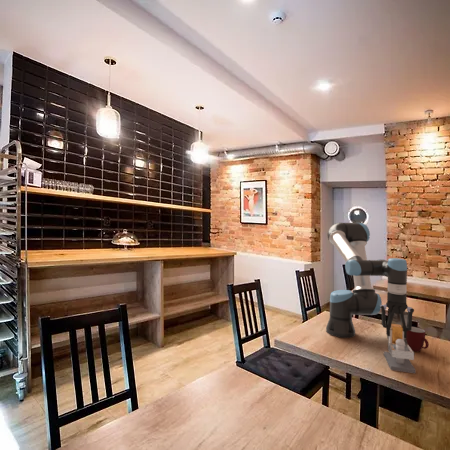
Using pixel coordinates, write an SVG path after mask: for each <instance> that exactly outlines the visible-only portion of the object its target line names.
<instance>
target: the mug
mask: <svg viewBox="0 0 450 450" xmlns="http://www.w3.org/2000/svg"><path fill="white" fill-rule="evenodd" d="M406 339H407V344H406V345H409V347H410V348H411V349H412V351H413V352H418V353H419V352H421V350H422V349H424V350H425V349H428V348H429V346H430V344H429V341H428V339H426V330H424V329H423V328H419V327H417V326H412V329H411V330H408V331H407V335H406ZM424 343H425V344H424ZM424 345H425V346H424Z"/></svg>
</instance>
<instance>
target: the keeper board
mask: <svg viewBox="0 0 450 450" xmlns="http://www.w3.org/2000/svg"><path fill="white" fill-rule="evenodd" d="M404 346H405V342H404V340H402V339H397V340H396V350H403V351H404ZM383 357H384V358H385V361H386V363H387V365H388V367H389V369H390V370H391V371H397V372H404V373H411V374H416V368H415V367H414V365H413V363H412V362H411V360H409V359H402V358H395V357H392V356H391V354H390V352H389V351H383Z"/></svg>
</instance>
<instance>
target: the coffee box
mask: <svg viewBox="0 0 450 450" xmlns="http://www.w3.org/2000/svg"><path fill="white" fill-rule="evenodd" d="M389 312H390V310H389V308H388V309H387V318H388V317H389ZM403 313H404V319H405V324H406V327H407V317H408V311H407V310H405V311H404V312H403ZM392 324H398V325H401V326H402V324H401V320H400V315H399V314H398V313H394V316H393V320H392ZM386 337H387V339H388V340H389V336H387V335H386ZM404 342H405V345H408V344H407V339H406V338H404Z"/></svg>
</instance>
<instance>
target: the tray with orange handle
mask: <svg viewBox="0 0 450 450" xmlns="http://www.w3.org/2000/svg"><path fill="white" fill-rule="evenodd" d="M391 329H392V343H389V342H387V350H388V352H390V354H391V356H392V357H395V358H402V359H409V360H410V361H411V360H412V361H414V360H415V351H412V349H411V348H410V347H409V345H408V344H406V345H405V346H404V351H403V350H396V340H397V339H402V337H403V327H402V326H401V325H398V324H391Z"/></svg>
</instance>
